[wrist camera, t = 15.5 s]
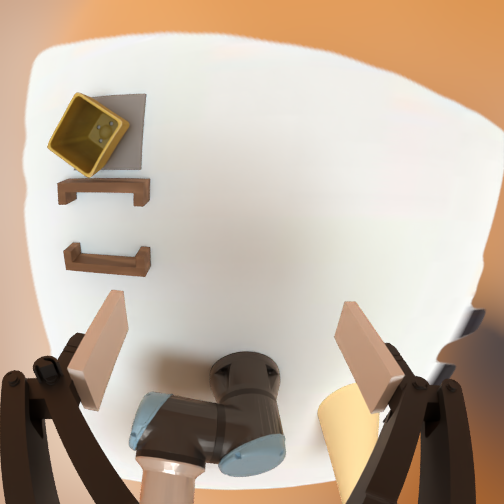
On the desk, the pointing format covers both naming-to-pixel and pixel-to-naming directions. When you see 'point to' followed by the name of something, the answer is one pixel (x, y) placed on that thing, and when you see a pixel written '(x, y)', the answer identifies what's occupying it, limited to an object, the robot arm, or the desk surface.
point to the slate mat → (131, 142)
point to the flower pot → (87, 135)
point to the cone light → (348, 435)
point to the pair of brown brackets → (106, 262)
